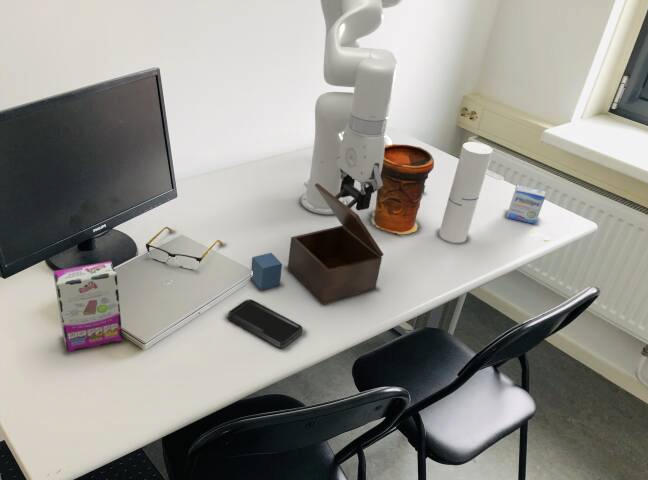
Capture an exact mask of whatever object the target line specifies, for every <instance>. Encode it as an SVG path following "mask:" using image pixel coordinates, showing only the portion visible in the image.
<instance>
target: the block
mask: <svg viewBox="0 0 648 480" xmlns="http://www.w3.org/2000/svg"><path fill="white" fill-rule="evenodd" d="M251 259H252V260H251V268H250V271H251V270H252V271H253V276H252V277H251V276H250V280H251V281H252V282H253V283H254V284H255V286H257V288H258V289H259V290H260V291H263V290H268V289H271V288H274V287H278V286H281V278H282V270H283V269H282V267H283V263H282V262H281V261H280V259H278V257H276V256H275V254H273V253H272V252H268V253H264V254H259V255H256V256H252V257H251Z"/></svg>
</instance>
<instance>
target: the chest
mask: <svg viewBox="0 0 648 480" xmlns="http://www.w3.org/2000/svg"><path fill="white" fill-rule="evenodd" d="M288 252H289V253H288V262H287V270H288V271H289V272H290V273H291V274H292V275H293V276H294V277H295V278H297V280H298V281H300V283H301V284H302V285H304V287H305V288H306V289H307V290H308V291H309V292H310V293H311V294H312V295H313V296H314V297H315V298H316V299H317V300H318V301H319V302H320V303H321V304H322V305H326V304H328V303H332V302H337V301H340V300H343V299H348V298H350V297H354V296H357V295H361V294H364V293H368V292H372V291H375V290H376V289H377V284H378V279H379V273H380V269H381V265H382V261H383V256H382V257H381V256H379V255H378V254H377V253H376V252H375V251H373V250H372V249H371V248H370V247H368V246H367V245H366V244H365V243H364V242H362V241H361V240H360V239H359V238H358V237H356V236H355V235H354V234H353V233H351V232H350V231H349V230H348V229H347V228H345V227H344V226H343V225H342V224H341V225H338V226H337V225H336V226H333V227H329V228H326V229H325V228H324V229H321V230H320V229H319V230H317V231H311V232H307V233H304V234H299V235H295V236H290V244H289V251H288Z"/></svg>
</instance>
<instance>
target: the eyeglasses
mask: <svg viewBox="0 0 648 480" xmlns="http://www.w3.org/2000/svg"><path fill="white" fill-rule="evenodd" d="M164 230H168V231H169V232H170V233H172V232H173V229H172V228H171V227H169V226H165V227H164V228H162V229H161V230H160V231H159V232H158V233H156V234H155V235H154V236H153V237H152V238H150V240H149V241H148V242H147V243H145V248H146V251H147V253H148V252H150V253H151V251H150V248H152V249H156V250H159V251H162V252H164V253H166V254H167V256H168V257H169V256H171V257H170V258H173V257H176V256H179V257H186V258H189V259H194V260H196V262H197V261H199V263H201V262H202V261H203V259H204V258H205V257H206V256H207V255H208V254H209V252H210V251H211V250H212V249H213V247H214V246H215V245H216V244H217V243H219V244H220V246H223V244H224V243H223V242H222V241H221V240H220V239H217V240H216V241H215V242H214V243H213V244H212V245H211V246H210V247H209V248H208V249H207V250H206V251H205V252H204V253H203V254H202V256H201V257H197V256H192V255H188V254H181V253H171V252H170V251H167V250H165V249H162V248H160V247H156V246H154V245H151V244H152V242H153V241H154V240H156V239H157V237H158V236H159V235H160V234H161V233H162V232H164ZM209 250H210V251H209ZM208 251H209V252H208ZM205 255H206V256H205Z"/></svg>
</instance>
